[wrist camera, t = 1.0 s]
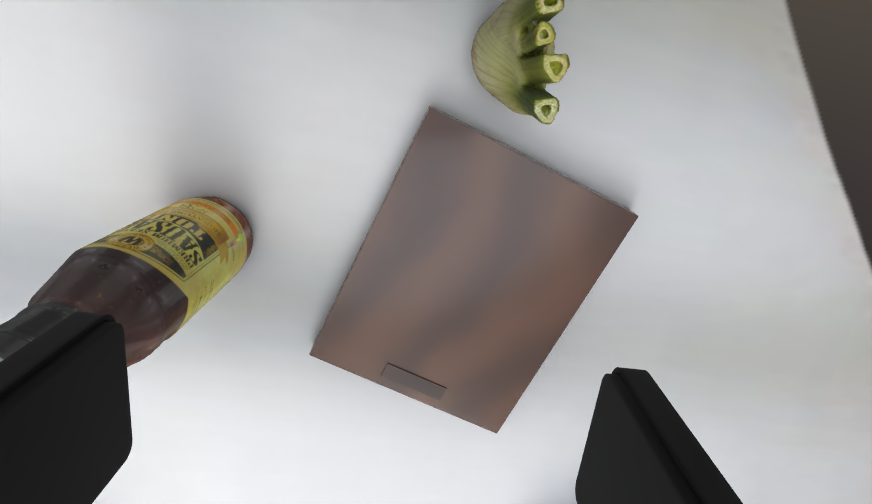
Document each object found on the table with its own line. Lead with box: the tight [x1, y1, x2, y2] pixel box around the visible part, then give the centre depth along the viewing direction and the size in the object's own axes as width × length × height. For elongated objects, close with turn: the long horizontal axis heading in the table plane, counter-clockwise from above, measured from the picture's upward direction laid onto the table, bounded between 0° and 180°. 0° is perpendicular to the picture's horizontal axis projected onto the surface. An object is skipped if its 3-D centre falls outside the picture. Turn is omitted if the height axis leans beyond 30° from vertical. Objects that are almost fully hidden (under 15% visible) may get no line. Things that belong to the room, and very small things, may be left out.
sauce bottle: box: [0, 197, 253, 367], centre depth 28 cm, size 7×6×20 cm
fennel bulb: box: [471, 0, 570, 124], centre depth 28 cm, size 6×5×12 cm
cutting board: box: [310, 106, 638, 433], centre depth 38 cm, size 16×20×2 cm
